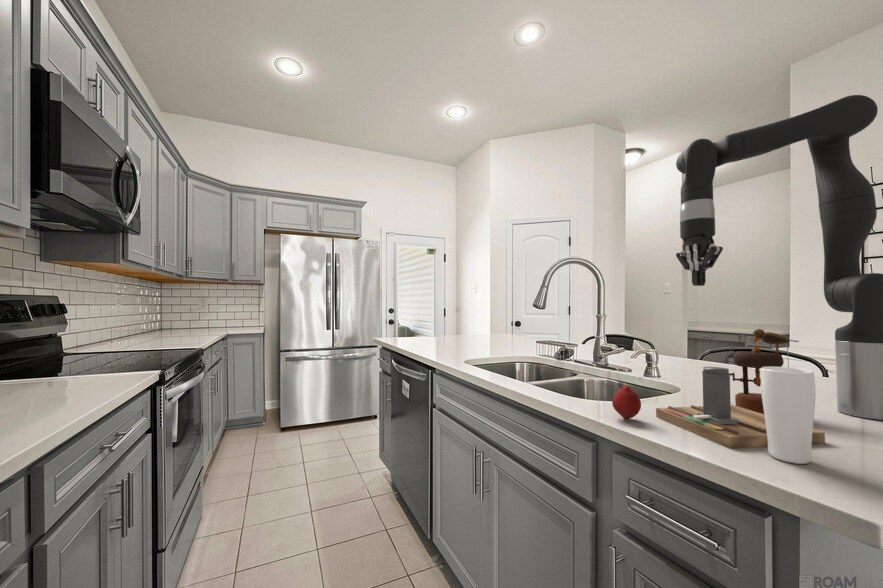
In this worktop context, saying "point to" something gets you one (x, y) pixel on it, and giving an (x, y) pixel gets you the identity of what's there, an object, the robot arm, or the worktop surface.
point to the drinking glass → (788, 412)
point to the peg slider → (716, 396)
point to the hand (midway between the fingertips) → (698, 285)
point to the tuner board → (726, 426)
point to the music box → (757, 368)
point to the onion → (626, 402)
